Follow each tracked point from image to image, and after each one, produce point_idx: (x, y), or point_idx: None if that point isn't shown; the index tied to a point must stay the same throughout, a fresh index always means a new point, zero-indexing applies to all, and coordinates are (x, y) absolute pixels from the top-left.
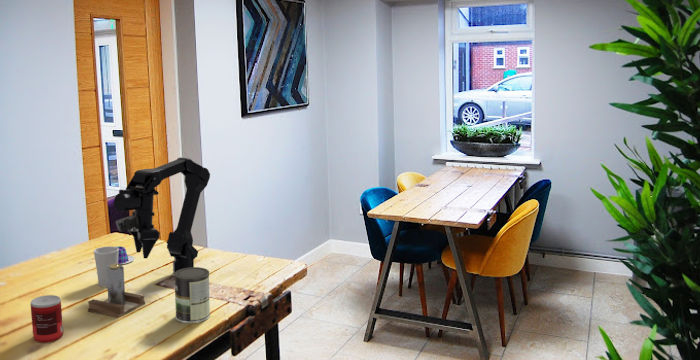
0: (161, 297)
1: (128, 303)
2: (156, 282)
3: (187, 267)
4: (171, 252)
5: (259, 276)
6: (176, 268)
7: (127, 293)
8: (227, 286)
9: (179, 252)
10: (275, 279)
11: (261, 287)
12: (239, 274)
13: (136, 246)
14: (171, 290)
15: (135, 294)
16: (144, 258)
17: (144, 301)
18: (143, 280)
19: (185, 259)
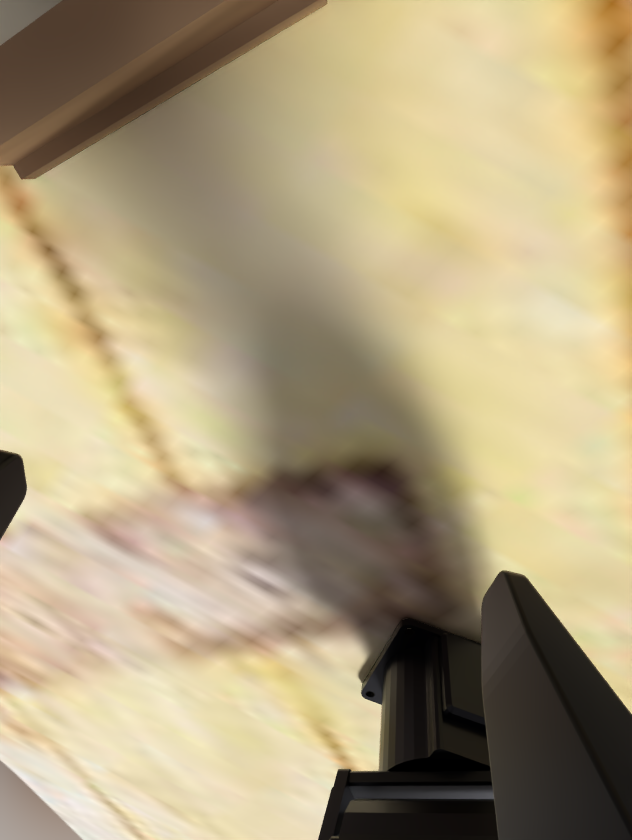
0: (109, 347)
1: (30, 14)
2: (422, 483)
3: (382, 713)
4: (482, 804)
5: (136, 796)
6: (436, 673)
7: (93, 49)
8: (88, 668)
9: (358, 821)
10: (67, 799)
11: (2, 727)
12: (213, 778)
13: (538, 669)
14: (200, 465)
15: (27, 111)
16: (6, 454)
17: (25, 176)
18: (547, 445)
19: (383, 771)
